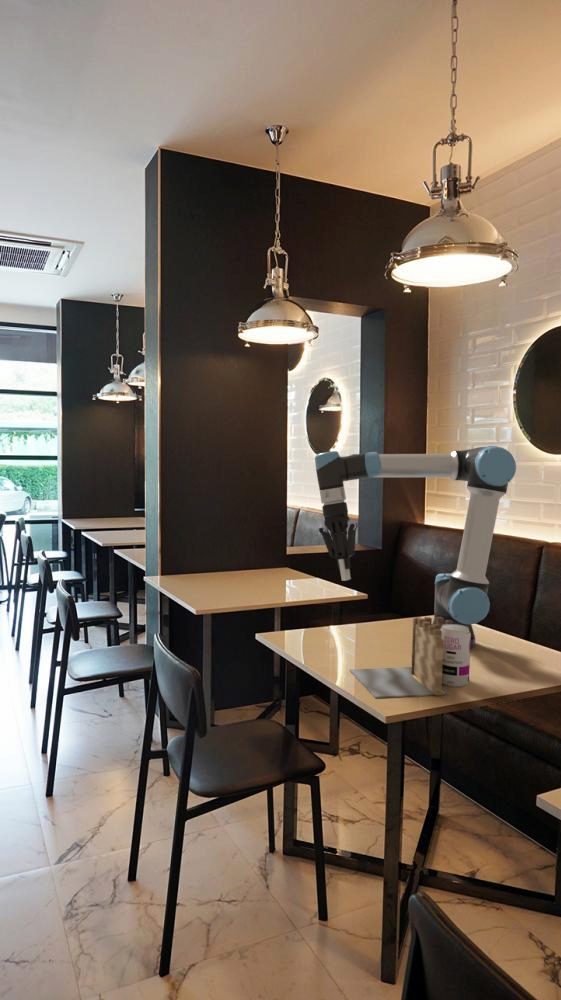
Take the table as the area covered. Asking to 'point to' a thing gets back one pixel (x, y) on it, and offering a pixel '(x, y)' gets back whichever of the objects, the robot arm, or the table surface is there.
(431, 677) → the fence panel
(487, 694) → the table surface
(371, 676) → the fence base
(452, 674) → the supplement can
